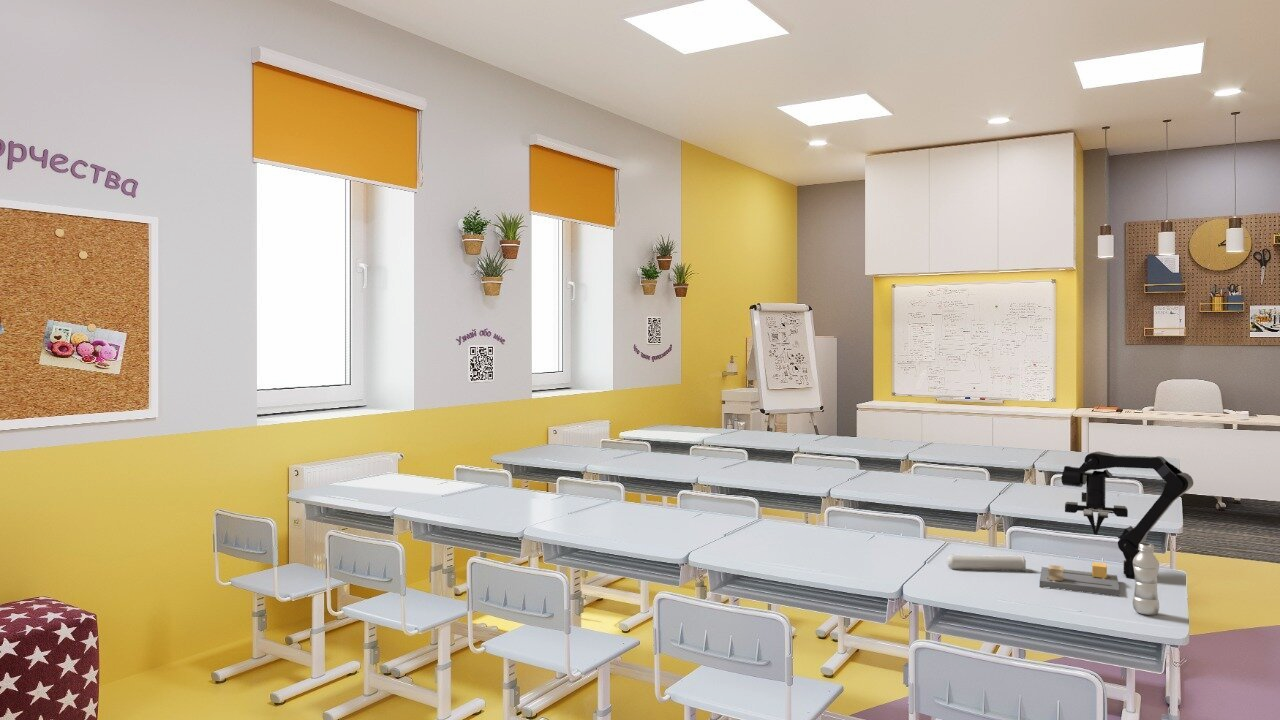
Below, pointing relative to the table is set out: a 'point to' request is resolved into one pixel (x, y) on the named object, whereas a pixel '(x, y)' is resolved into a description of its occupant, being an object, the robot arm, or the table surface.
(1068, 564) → the table surface
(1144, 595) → the plastic bottle
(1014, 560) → the tube
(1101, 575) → the block
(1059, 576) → the oak fader
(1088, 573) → the fader panel
